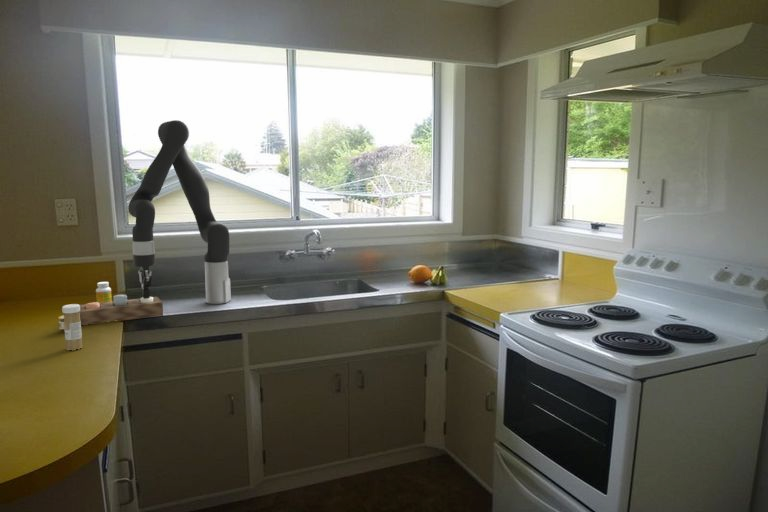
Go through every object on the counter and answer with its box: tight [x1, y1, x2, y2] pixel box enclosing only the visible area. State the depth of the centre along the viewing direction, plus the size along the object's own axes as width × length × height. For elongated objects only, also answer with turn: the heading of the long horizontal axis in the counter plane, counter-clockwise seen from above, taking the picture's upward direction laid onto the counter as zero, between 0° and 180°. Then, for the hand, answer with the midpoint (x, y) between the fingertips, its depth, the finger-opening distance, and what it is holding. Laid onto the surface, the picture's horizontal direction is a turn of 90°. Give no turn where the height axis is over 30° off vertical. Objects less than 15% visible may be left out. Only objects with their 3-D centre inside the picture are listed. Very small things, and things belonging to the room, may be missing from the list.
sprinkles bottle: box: [61, 303, 84, 351], centre depth 156 cm, size 5×5×14 cm
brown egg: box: [85, 301, 100, 309], centre depth 187 cm, size 4×4×5 cm
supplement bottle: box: [95, 281, 113, 303], centre depth 207 cm, size 5×5×10 cm
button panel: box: [79, 296, 164, 326], centre depth 192 cm, size 27×11×5 cm, turn 123°
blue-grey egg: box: [112, 294, 128, 306], centre depth 192 cm, size 4×4×5 cm
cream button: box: [139, 296, 154, 303], centre depth 197 cm, size 4×4×5 cm
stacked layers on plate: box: [58, 314, 64, 330], centre depth 175 cm, size 10×9×6 cm
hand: (146, 298), depth 197 cm, fingers closed
